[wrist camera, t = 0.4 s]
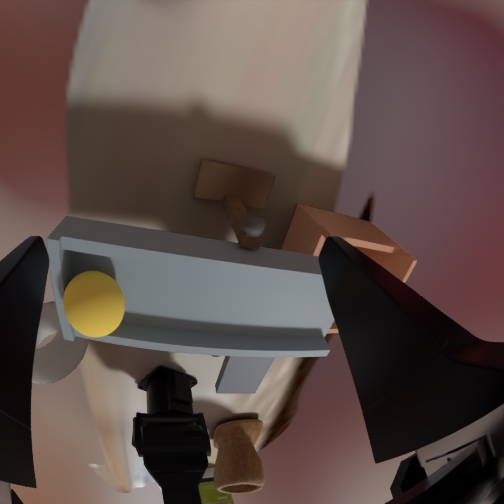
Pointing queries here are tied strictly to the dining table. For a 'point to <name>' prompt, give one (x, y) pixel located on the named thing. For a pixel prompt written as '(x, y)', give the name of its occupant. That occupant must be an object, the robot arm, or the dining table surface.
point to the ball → (93, 304)
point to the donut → (55, 349)
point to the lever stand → (236, 196)
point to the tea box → (212, 490)
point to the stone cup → (238, 457)
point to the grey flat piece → (199, 296)
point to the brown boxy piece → (351, 230)
